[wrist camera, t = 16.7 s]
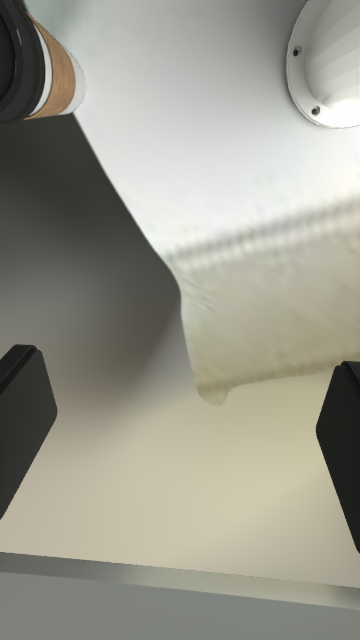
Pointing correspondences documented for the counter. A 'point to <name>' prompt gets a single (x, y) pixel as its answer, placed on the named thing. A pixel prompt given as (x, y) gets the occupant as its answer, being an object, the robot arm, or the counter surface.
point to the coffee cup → (34, 69)
